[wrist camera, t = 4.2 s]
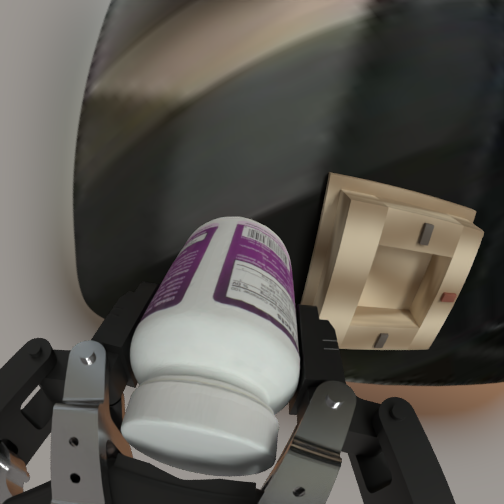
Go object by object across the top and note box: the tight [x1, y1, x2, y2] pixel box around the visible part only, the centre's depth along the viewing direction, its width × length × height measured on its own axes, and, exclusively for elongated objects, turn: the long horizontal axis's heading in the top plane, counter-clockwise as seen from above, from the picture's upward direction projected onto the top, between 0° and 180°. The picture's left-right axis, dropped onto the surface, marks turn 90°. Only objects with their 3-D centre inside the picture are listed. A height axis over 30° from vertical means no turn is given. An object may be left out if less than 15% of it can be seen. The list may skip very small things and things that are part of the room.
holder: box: [301, 172, 484, 350], centre depth 21 cm, size 15×15×4 cm
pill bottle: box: [121, 217, 301, 476], centre depth 10 cm, size 5×5×10 cm
